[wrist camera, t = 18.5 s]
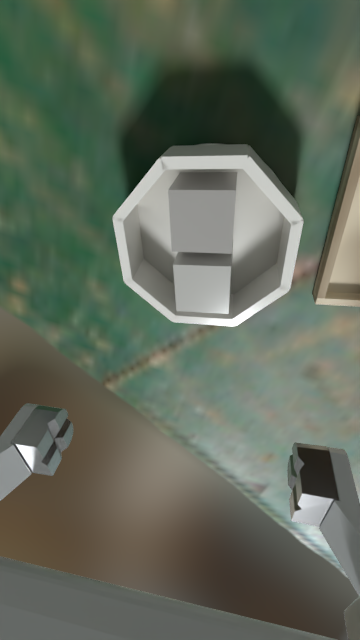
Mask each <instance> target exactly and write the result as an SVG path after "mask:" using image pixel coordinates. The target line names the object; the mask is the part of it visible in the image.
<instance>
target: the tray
mask: <svg viewBox="0 0 360 640" xmlns="http://www.w3.org/2000/svg"><path fill="white" fill-rule="evenodd" d="M312 294H313V298H314V301H315V304H322V305H340V306H358V307H360V115H357V119H356V123H355V126H354V130H353V134H352V138H351V142H350V146H349V150H348V154H347V158H346V162H345V166H344V170H343V174H342V178H341V182H340V186H339V190H338V194H337V198H336V202H335V206H334V210H333V214H332V217H331V221H330V225H329V229H328V233H327V237H326V241H325V245H324V249H323V253H322V257H321V261H320V265H319V269H318V273H317V277H316V281H315V285H314V289H313V293H312Z"/></svg>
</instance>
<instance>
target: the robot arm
mask: <svg viewBox="0 0 360 640" xmlns="http://www.w3.org/2000/svg"><path fill="white" fill-rule="evenodd" d="M67 416H68V413H67V411H66V409H60V408H54V407H48V406H41V405H36V404H28V403H27V404H25V405H24V406H23V407H22V408H21V409H20V411H19V412H18V413H17V415H16V416H15V417H14V419H13V420H12V421H11V423H10V424H9V425H8V427H7V428H6V430H5V431H4V432H3V434H2V435H1V437H0V501H1V500H2V499H3V498H4V497H5V496H6V495H7V494H9V493H10V492H11V491H12V490H13V489H14V488H16V487H17V486H18V485H19V484H20V483H21V482H23V481H24V480H25V479H26V478H27V477H28V476H29V475H30V474H31V472H33V473H39V474H45V475H51V476H53V474H54V472H55V470H56V468H57V466H58V464H59V463H60V460H61V458H62V457H61V452H62V451H63V450H64V449H66V448H67V447H68V445H69V443H70V441H71V439H72V435H73V425H72V423H71V422H70V421H69V420H68V419H67ZM292 452H293V455H291V456H290V457H289V461H288V470H287V471H288V485H289V487H290V488H291V489H292V492H291V495H290V498H289V502H290V513H291V521H294V522H299V523H303V524H308V525H313V526H317V527H320V528H319V529H320V531H321V532H322V534H323V536H324V537H325V539H326V541H327V543H328V544H329V546H330V548H331V549H332V551H333V553H334V554H335V556H336V558H337V559H338V561H339V563H340V565H341V566H342V568H343V570H344V571H345V573H346V575H347V576H348V578H349V580H350V581H351V583H352V585H353V586H354V588H355V590H356V592H357V593H358V595H359V597H358V598H357V599H356V600H355V601H354V602H353V603H352V604H351V605H350V606H349V607H348V608H347V609H346V610H345V611H344V617H345V623H346V630H347V636H348V640H360V503H359V499H358V495H357V491H356V487H355V483H354V479H353V475H352V471H351V467H350V463H349V459H348V456H347V453H346V451H345V450H343V449H337V448H330V447H325V446H317V445H310V444H302V443H294V444H293V447H292ZM0 640H336V639H332V638H328V637H324V636H320V635H316V634H312V633H308V632H304V631H300V630H296V629H292V628H288V627H283V626H280V625H276V624H271V623H267V622H263V621H259V620H255V619H251V618H247V617H243V616H239V615H235V614H231V613H227V612H223V611H219V610H215V609H211V608H207V607H203V606H199V605H195V604H191V603H187V602H183V601H179V600H175V599H171V598H166V597H162V596H158V595H154V594H150V593H146V592H142V591H138V590H134V589H130V588H126V587H122V586H118V585H113V584H110V583H106V582H102V581H98V580H94V579H89V578H86V577H81V576H78V575H73V574H70V573H65V572H61V571H57V570H53V569H49V568H45V567H41V566H37V565H33V564H29V563H25V562H21V561H17V560H13V559H9V558H5V557H0Z"/></svg>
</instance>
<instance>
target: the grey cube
mask: <svg viewBox="0 0 360 640" xmlns="http://www.w3.org/2000/svg"><path fill="white" fill-rule="evenodd" d="M232 255H233V242H232V254H223V253H196V252H178V253H177V256H176V258H175V261H174V263H173V272H174V285H175V298H176V311H183V312H201V313H219V314H229V303H230V290H231V274H232Z"/></svg>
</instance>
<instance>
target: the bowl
mask: <svg viewBox="0 0 360 640" xmlns="http://www.w3.org/2000/svg"><path fill="white" fill-rule="evenodd" d="M180 172H237V186H236V201H235V216H234V230H233V255H232V274H231V290H230V303H229V314H219V313H201V312H183V311H176V298H175V285H174V272H173V263H174V261H175V258H176V256H177V253H178V252H172V247H171V230H170V213H169V197H168V189H169V188H170V186H171V185H172V183H173V182H174V180H175V179H176V178H177V176H178V175H179V173H180ZM303 222H304V221H303V217H302V215H301V212H300V209H299V207H298V204H297V202H296V200H295V199H294V198H293V196H292V195H291V194H290V193H289V192H288V190H287V189H286V188H285V187H284V186H283V184H282V183H281V182H280V180H279V179H278V178H277V176H276V175H275V173H274V172H273V171H272V170H271V169H270V168H269V167H268V166H267V165H266V163H264V162H263V161H262V159H261V158H260V157H259V156H258V155H257V153H256V152H255V151H254V150H253V149H252V148H251V146H250V145H249V146H248V144H232V145H227V144H221V143H205V144H197V145H187V146H172V147H170V148H169V149H168V150H167V151H166V152H165V153H164V154H163V155H161V156H160V157H159V159H158V160H157V161H156V162H155V164H154V165H153V166H152V167H151V169H150V170H149V171H148V172H147V174H146V175H145V176H144V178H143V179H142V180H141V181H140V183H139V184H138V185H137V186H136V188H135V189H134V190H133V191H132V193H131V194H130V195H129V197H128V198H127V199H126V200H125V202H124V203H123V204H122V205H121V207H120V208H119V209H118V210H117V212H116V213H115V214H114V215H113V224H114V229H115V235H116V241H117V246H118V252H119V257H120V263H121V268H122V274H123V280H124V282H125V284H127V285H128V286H129V287H130V288H131V289H133V290H134V291H135V292H136V293H138V294H139V295H140V296H141V297H142V298H144V299H145V300H146V301H147V302H149V303H150V304H151V305H152V306H153V307H155V308H156V309H157V310H158V311H160V312H161V313H162V314H163V315H164V316H166V317H167V318H168V319H169V320H171V321H173V322H177V323H192V324H206V325H221V326H234V325H235V326H237V325H238V324H240V323H241V322H243V321H244V320H246V319H247V318H249V317H250V316H252V315H253V314H255V313H256V312H258V311H259V310H261V309H263V308H264V307H266V306H267V305H269V304H270V303H272V302H273V301H275V300H276V299H278V298H279V297H281V296H282V295H284V294H285V293H287V292H288V291H289V290H290V287H291V282H292V277H293V272H294V267H295V262H296V257H297V252H298V247H299V242H300V237H301V232H302V227H303Z"/></svg>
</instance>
